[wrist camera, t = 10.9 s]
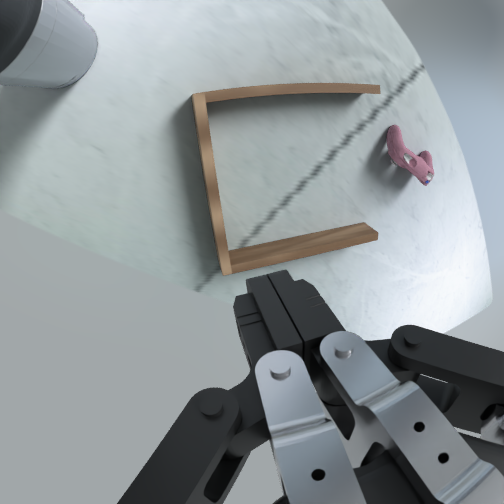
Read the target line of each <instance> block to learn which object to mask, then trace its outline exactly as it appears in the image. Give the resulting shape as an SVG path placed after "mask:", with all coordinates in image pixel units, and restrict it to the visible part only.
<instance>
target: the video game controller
mask: <svg viewBox="0 0 504 504" xmlns="http://www.w3.org/2000/svg"><path fill="white" fill-rule="evenodd" d="M387 146H388V150H389V151H388V154H389V155H390V157H391V158H392V160H391V163H392V164H393V165H395V166H397V164H398V165H399V166H400V167H402V168H406V169H407V170H408V171H410V172H411V173H412V174H413V175H414V176H416V177H417V179H418V180H419V181H420V182H421V183H422V184H423V185H425V186H427V184H428V183H429V182H430V181H431V180H432V178H433V176H434V170H433V166H432V157H431V155H430V153H429V152H428V151H423V152H422V153H421V154H420V157H419V156H417V155H415V154H414V153H413V152H411V151H410V150H409V149H407V148H406V147H405V146H404V143H403V140H402V135H401V130H400V128H399V126H397V125H392V126H391V127H390V128H389V130H388V133H387Z"/></svg>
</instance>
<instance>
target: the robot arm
mask: <svg viewBox="0 0 504 504" xmlns="http://www.w3.org/2000/svg"><path fill="white" fill-rule="evenodd" d="M97 46H98V42H97V36H96V33H95V31H94V29H93V28H92V27H91V26H90V25H89V24H88V23H87V22H86V21H85V20H84V15H83V14H82V13H81V12H80V11H79V10H78V9H77V8H76V7H75V6H74V5H73V4H72V3H71V2H70V1H68V0H0V85H9V86H30V87H43V88H62V87H66V86H68V85H70V84H72V83H74V82H76V81H77V80H78V79H80V78H81V77H82V76H83V75H84V74H85V73H86V72H87V70H88V69H89V68H90V66H91V65H92V63H93V61H94V59H95V56H96V53H97ZM246 286H247V292H248V293H247V294H243V295H239V296H236V298H235V302H234V306H233V308H234V313H235V317H236V323H237V327H238V332H239V337H240V340H241V342H242V346H243V349H244V352H245V355H246V358H247V361H248V364H249V367H250V373H249V375H248V376H247V377H246V379H245V380H244V381H243V382H241V383H240V384H238V385H237V386H235V387H233V388H232V389H230V390H225V389H222V388H207V389H204V390H202V391H199V392H198V393H196V394H195V395H194V396H193V397H192V398H191V399H190V401H189V402H188V403H187V405H186V406H185V408H184V410H183V411H182V412H181V414H180V415H179V417H178V418H177V420H176V421H175V423H174V424H173V425H172V427H171V428H170V430H169V431H168V433H167V434H166V436H165V437H164V439H163V440H162V441H161V443H160V444H159V446H158V447H157V449H156V450H155V452H154V453H153V454H152V456H151V457H150V459H149V460H148V462H147V463H146V464H145V466H144V467H143V469H142V470H141V471H140V473H139V474H138V476H137V477H136V478H135V480H134V481H133V482H132V484H131V485H130V487H129V488H128V489H127V491H126V492H125V493H124V495H123V496H122V498H121V499H120V500H119V502H118V503H117V504H223V502H224V500H225V499H226V497H227V495H228V493H229V492H230V490H231V488H232V486H233V484H234V483H235V481H236V479H237V477H238V475H239V473H240V472H241V470H242V468H243V466H244V464H245V462H246V460H247V458H248V456H249V455H250V452H251V451H252V450H253V449H255V448H256V447H258V446H260V445H261V444H263V443H264V442H266V441H267V440H269V441H270V445H271V448H272V452H273V456H274V460H275V464H276V468H277V472H278V476H279V480H280V484H281V488H282V492H283V496H282V497H281V498H279V499H278V500H276V501H275V502H274V503H273V504H504V352H502V351H499V350H496V349H492V348H488V347H485V346H482V345H478V344H475V343H472V342H468V341H465V340H462V339H458V338H455V337H452V336H448V335H445V334H442V333H438V332H435V331H432V330H429V329H425V328H422V327H419V326H415V325H404V326H401V327H399V328H397V329H396V330H395V331H394V332H393V334H392V337H391V339H384V340H374V341H365V340H363V339H362V338H361V337H360V336H358V335H357V334H355V333H352V332H348V331H346V330H345V329H344V327H343V326H342V325H341V323H340V322H339V320H338V319H337V318H336V316H335V315H334V313H333V312H332V311H331V309H330V308H329V306H328V305H327V304H326V303H325V301H324V299H323V298H322V297H321V296H320V294H319V292H318V291H317V290H316V288H315V287H314V285H312V284H310V283H308V282H307V281H305V280H303V279H301V280H297V281H294V280H293V279H292V277H291V276H290V274H289V273H288V271H287V270H282V271H278V272H274V273H270V274H267V275H262V276H258V277H254V278H250V279H246ZM420 374H423V375H426V376H429V377H432V378H436V379H439V380H442V381H445V382H448V383H445V382H442V381H438V380H435V379H432V378H429V377H426V376H423V375H420ZM313 385H314V386H313ZM314 387H315V389H316V391H317V392H315V389H314ZM454 427H457V428H460V429H464V430H467V431H471V432H475V433H479V434H481V437H480V438H476V437H473V436H470V435H466V434H463V433H460V432H457V431H456V430H455V428H454Z"/></svg>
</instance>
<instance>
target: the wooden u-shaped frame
mask: <svg viewBox="0 0 504 504" xmlns="http://www.w3.org/2000/svg"><path fill="white" fill-rule="evenodd" d="M299 93H371V94H380V85H370V84H349V83H297V84H276V85H262V86H250V87H240V88H231V89H223V90H216V91H209V92H202V93H196V94H192V95H191V97H192V104H193V111H194V118H195V125H196V132H197V138H198V145H199V151H200V157H201V164H202V170H203V176H204V182H205V188H206V194H207V200H208V206H209V211H210V217H211V223H212V228H213V234H214V239H215V245H216V250H217V255H218V261H219V264H220V267H221V271H222V274H223V276H224V275H228V274H233V273H237V272H242V271H246V270H251V269H255V268H260V267H264V266H269V265H273V264H277V263H282V262H286V261H291V260H295V259H299V258H304V257H308V256H312V255H316V254H321V253H325V252H329V251H333V250H338V249H342V248H346V247H350V246H354V245H359V244H363V243H367V242H371V241H375V240H378V232H377V231H375V230H374V229H373V228H371V227H370V226H368V225H367V224H366V223H359V224H354V225H349V226H344V227H340V228H335V229H330V230H325V231H320V232H316V233H311V234H306V235H301V236H296V237H292V238H287V239H282V240H277V241H273V242H268V243H263V244H259V245H254V246H249V247H244V248H240V249H235V250H230V251H228V246H227V240H226V234H225V228H224V222H223V215H222V209H221V203H220V196H219V190H218V183H217V177H216V170H215V164H214V157H213V150H212V143H211V136H210V129H209V122H208V115H207V108H206V103H208V102H215V101H222V100H229V99H238V98H246V97H256V96H268V95H281V94H299Z"/></svg>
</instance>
